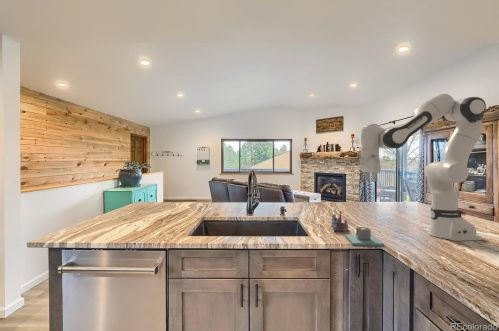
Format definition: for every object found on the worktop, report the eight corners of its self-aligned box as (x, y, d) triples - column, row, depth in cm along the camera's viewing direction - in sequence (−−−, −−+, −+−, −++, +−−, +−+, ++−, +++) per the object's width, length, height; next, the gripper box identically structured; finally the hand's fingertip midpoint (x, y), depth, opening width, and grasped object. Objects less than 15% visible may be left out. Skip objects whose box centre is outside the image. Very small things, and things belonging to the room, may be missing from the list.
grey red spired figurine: (352, 229, 142) (338, 211, 144) (336, 239, 145) (322, 221, 148) (352, 224, 152) (339, 207, 155) (337, 234, 156) (324, 217, 158)
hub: (367, 237, 131) (367, 227, 131) (371, 240, 125) (371, 230, 125) (355, 236, 131) (355, 227, 131) (358, 240, 125) (358, 230, 125)
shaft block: (373, 237, 134) (372, 225, 134) (383, 246, 120) (383, 233, 120) (345, 236, 136) (345, 225, 136) (352, 245, 122) (352, 232, 122)
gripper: (384, 154, 127) (384, 182, 127) (369, 155, 147) (369, 179, 147) (370, 154, 128) (370, 182, 128) (358, 155, 148) (358, 179, 148)
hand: (370, 181), depth 138 cm, fingers open, 8 cm apart
